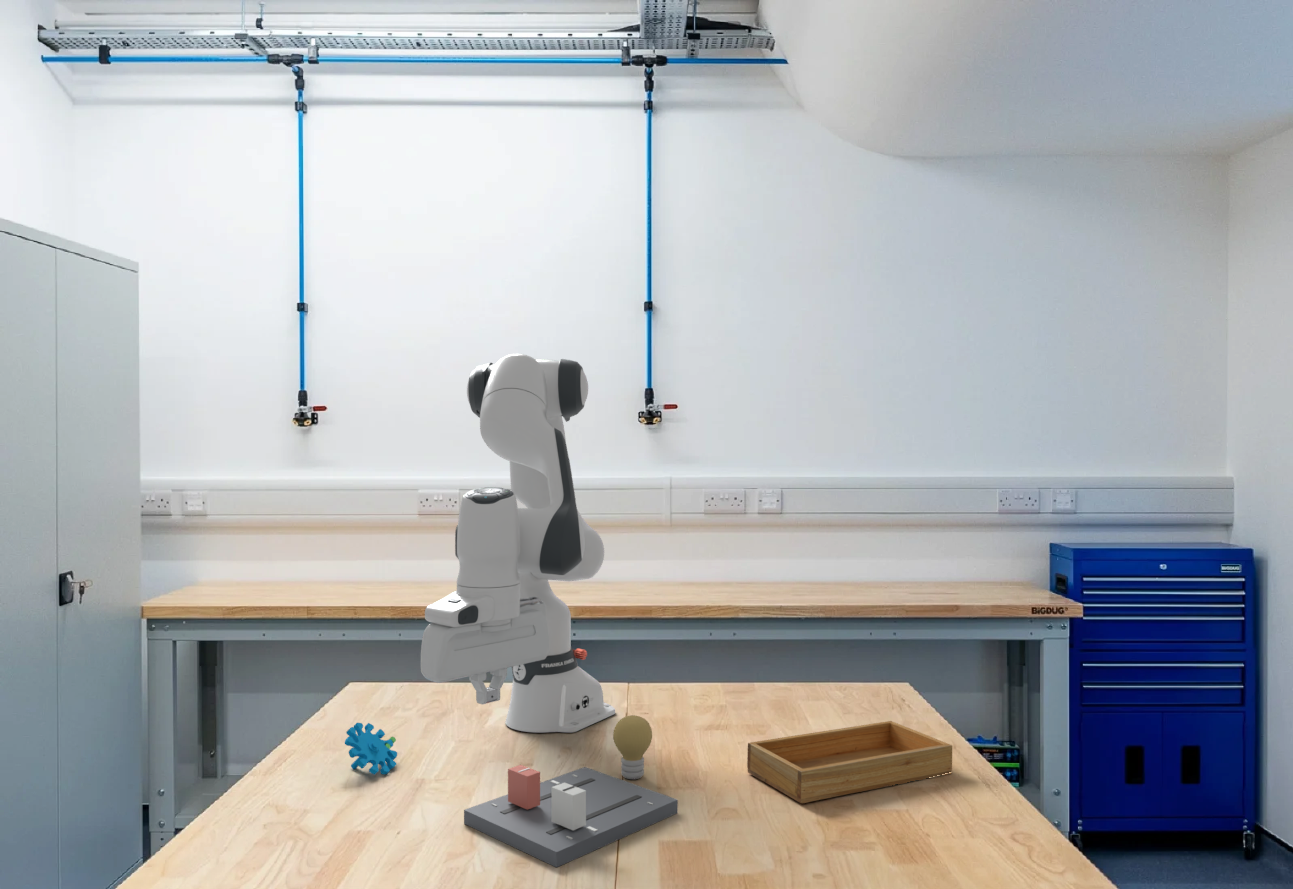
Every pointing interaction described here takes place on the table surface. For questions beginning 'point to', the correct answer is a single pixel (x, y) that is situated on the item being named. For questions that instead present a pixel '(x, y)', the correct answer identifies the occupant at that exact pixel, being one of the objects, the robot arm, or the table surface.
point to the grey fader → (568, 806)
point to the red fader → (524, 787)
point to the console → (532, 831)
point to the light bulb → (632, 744)
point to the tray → (847, 760)
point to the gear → (370, 748)
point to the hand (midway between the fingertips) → (488, 701)
